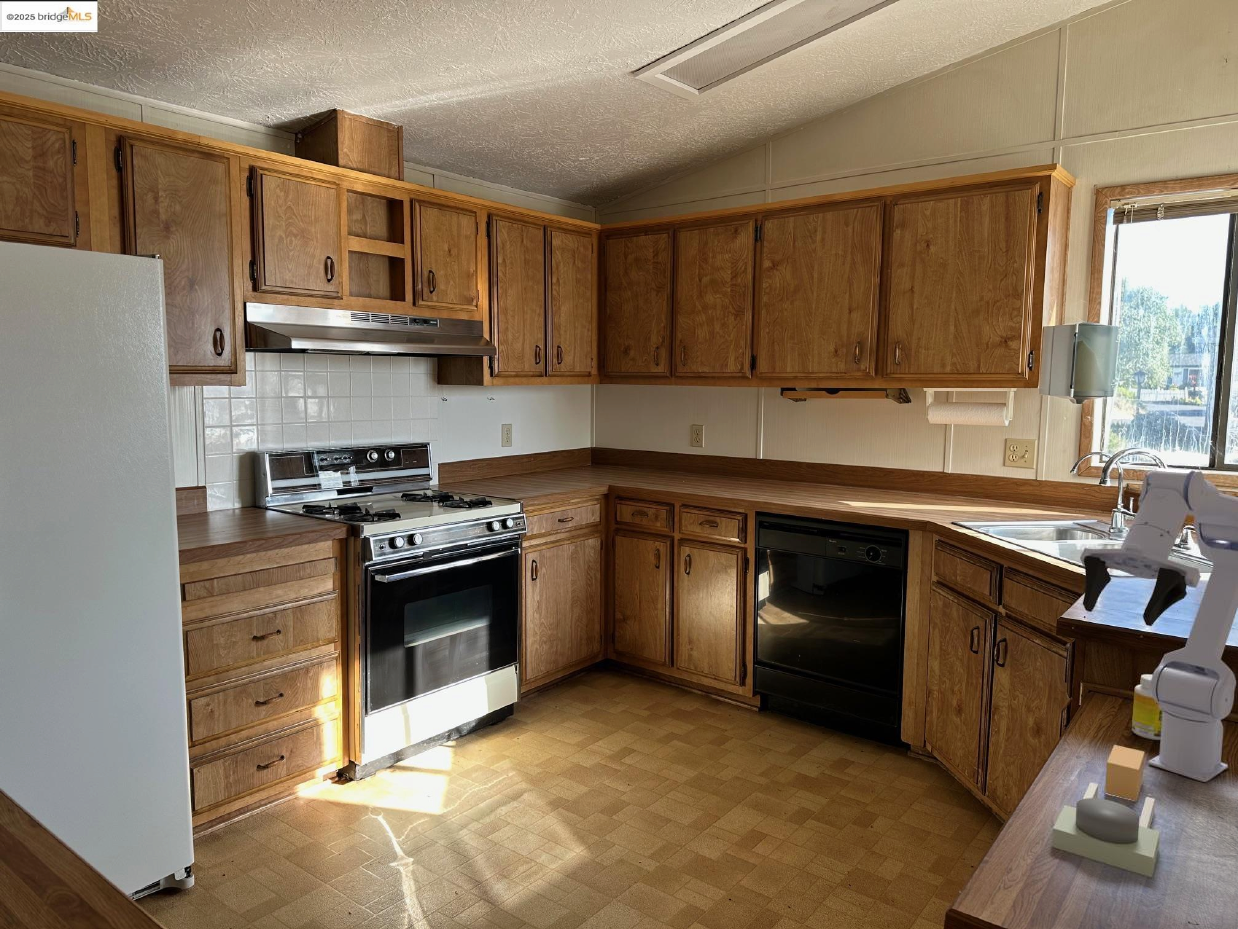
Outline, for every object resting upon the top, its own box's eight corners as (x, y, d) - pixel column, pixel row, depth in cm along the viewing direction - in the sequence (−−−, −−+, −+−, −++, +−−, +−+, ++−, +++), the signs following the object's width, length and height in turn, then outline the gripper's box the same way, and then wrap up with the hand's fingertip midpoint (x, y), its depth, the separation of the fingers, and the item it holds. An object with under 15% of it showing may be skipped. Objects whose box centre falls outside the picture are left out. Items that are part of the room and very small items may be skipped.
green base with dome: (1078, 792, 123) (1080, 759, 123) (1166, 816, 117) (1169, 781, 116) (1051, 846, 108) (1054, 809, 108) (1152, 877, 101) (1154, 838, 101)
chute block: (1112, 776, 129) (1114, 745, 129) (1142, 783, 127) (1144, 751, 127) (1104, 795, 123) (1106, 762, 123) (1136, 803, 121) (1138, 769, 120)
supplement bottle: (1160, 744, 142) (1164, 685, 141) (1125, 732, 146) (1129, 675, 146) (1175, 737, 145) (1179, 679, 144) (1141, 726, 149) (1144, 670, 149)
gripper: (1090, 511, 123) (1054, 585, 118) (1204, 528, 111) (1169, 611, 107) (1102, 540, 126) (1067, 613, 122) (1214, 560, 115) (1180, 641, 110)
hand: (1116, 614), depth 114 cm, fingers open, 7 cm apart
